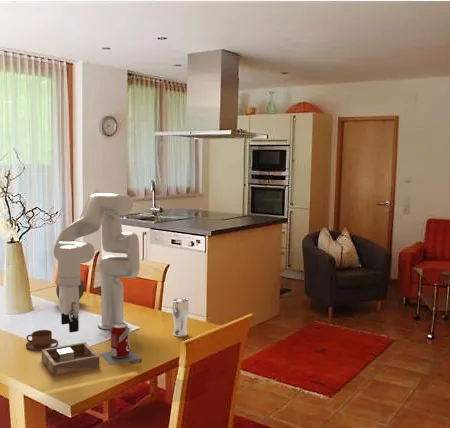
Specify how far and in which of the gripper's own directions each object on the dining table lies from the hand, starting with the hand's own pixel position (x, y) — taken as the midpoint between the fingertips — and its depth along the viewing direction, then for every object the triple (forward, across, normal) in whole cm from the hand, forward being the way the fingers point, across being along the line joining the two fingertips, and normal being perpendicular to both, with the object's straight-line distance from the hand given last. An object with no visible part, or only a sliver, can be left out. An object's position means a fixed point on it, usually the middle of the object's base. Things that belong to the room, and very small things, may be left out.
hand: (69, 327), depth 184 cm
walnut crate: (+14, 0, 0) cm, 14 cm away
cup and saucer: (+15, -23, -4) cm, 28 cm away
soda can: (+14, +2, +18) cm, 23 cm away
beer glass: (+14, -11, +50) cm, 53 cm away
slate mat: (+14, +2, +18) cm, 23 cm away
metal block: (+13, -3, -1) cm, 14 cm away
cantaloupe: (+14, -77, +22) cm, 81 cm away
